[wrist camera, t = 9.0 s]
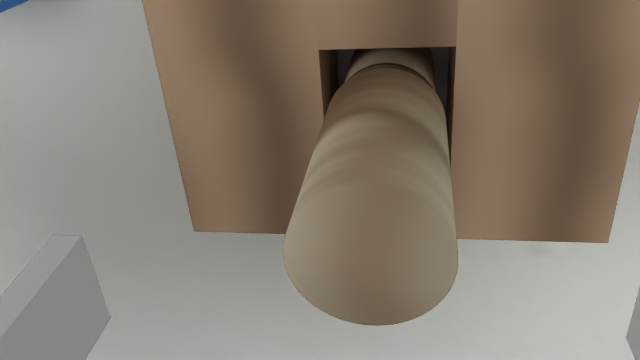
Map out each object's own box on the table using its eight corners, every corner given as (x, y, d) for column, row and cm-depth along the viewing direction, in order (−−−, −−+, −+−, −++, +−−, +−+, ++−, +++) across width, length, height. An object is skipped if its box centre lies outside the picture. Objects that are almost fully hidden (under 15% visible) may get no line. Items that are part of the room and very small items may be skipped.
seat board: (224, 176, 31) (104, 389, 19) (138, -299, 21) (-226, -465, 9) (579, 180, 28) (695, 435, 16) (678, -370, 18) (1170, -749, 6)
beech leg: (346, 113, 28) (291, 321, 16) (341, 22, 26) (274, 185, 14) (439, 112, 27) (453, 329, 15) (442, 19, 25) (462, 187, 13)
